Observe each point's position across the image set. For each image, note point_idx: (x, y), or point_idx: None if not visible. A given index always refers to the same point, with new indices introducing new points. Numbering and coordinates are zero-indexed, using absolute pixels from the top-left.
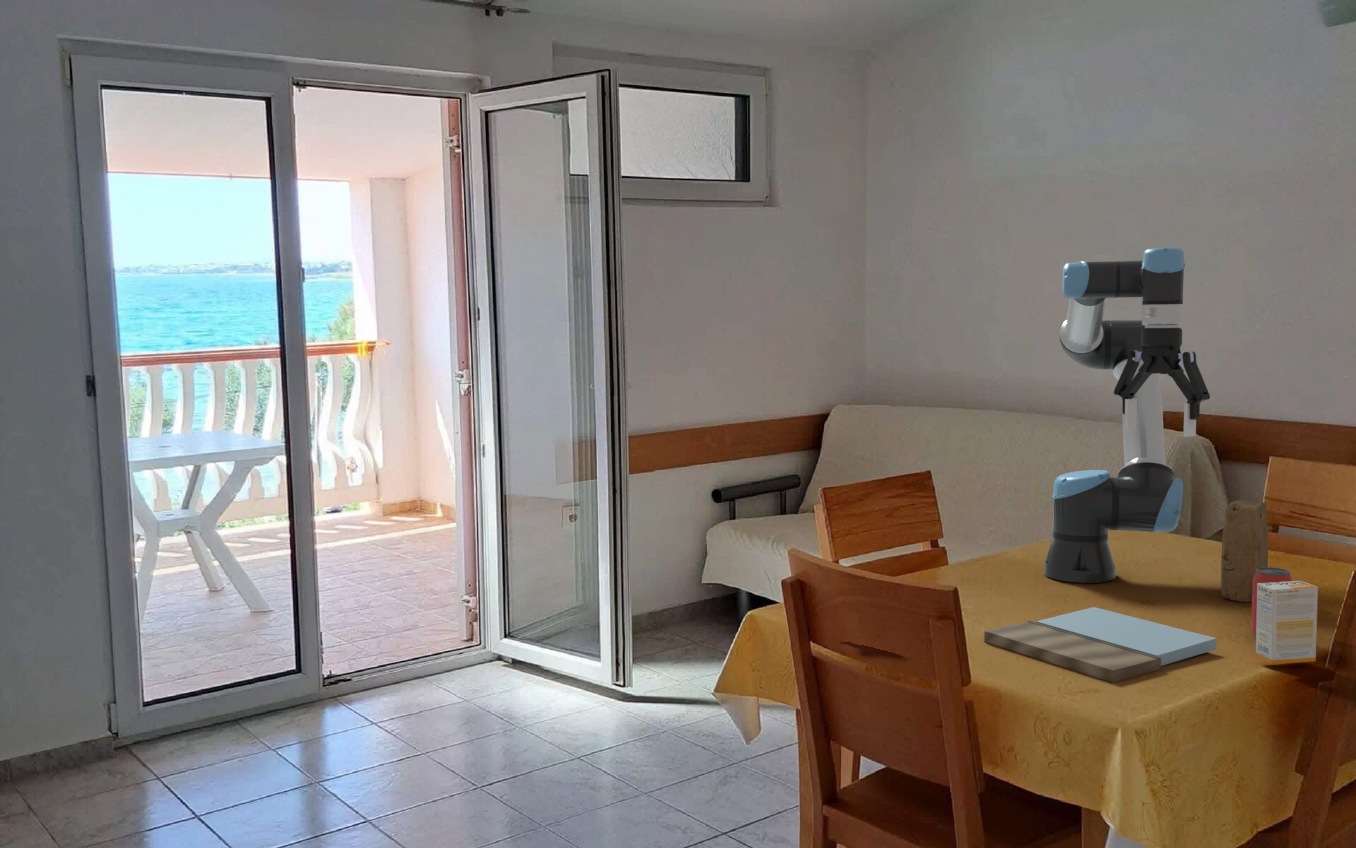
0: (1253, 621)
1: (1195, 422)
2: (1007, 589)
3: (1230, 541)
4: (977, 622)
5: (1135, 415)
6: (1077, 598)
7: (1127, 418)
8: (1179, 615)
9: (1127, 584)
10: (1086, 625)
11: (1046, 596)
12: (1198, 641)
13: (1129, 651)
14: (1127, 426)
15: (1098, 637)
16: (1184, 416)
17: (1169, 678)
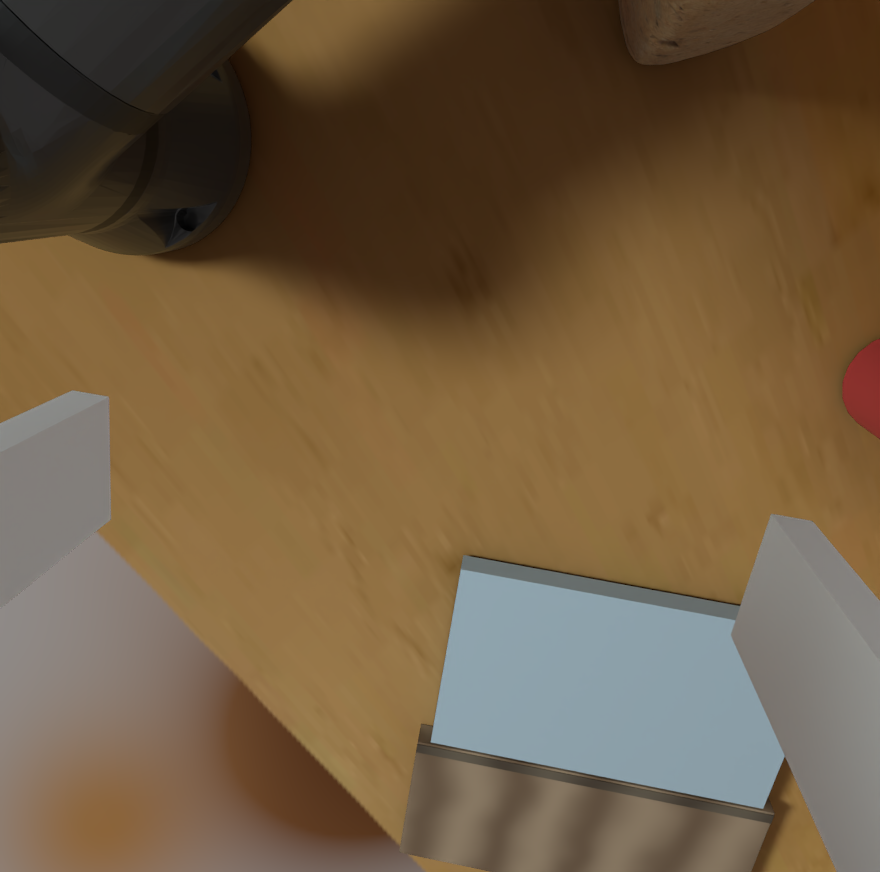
0: (867, 428)
1: (872, 604)
2: (121, 431)
3: (706, 25)
4: (297, 731)
5: (4, 473)
6: (306, 386)
7: (23, 580)
8: (608, 359)
9: (296, 95)
10: (535, 711)
11: (238, 426)
12: None
13: (701, 811)
14: (80, 539)
15: (603, 769)
16: (807, 791)
17: (801, 825)
